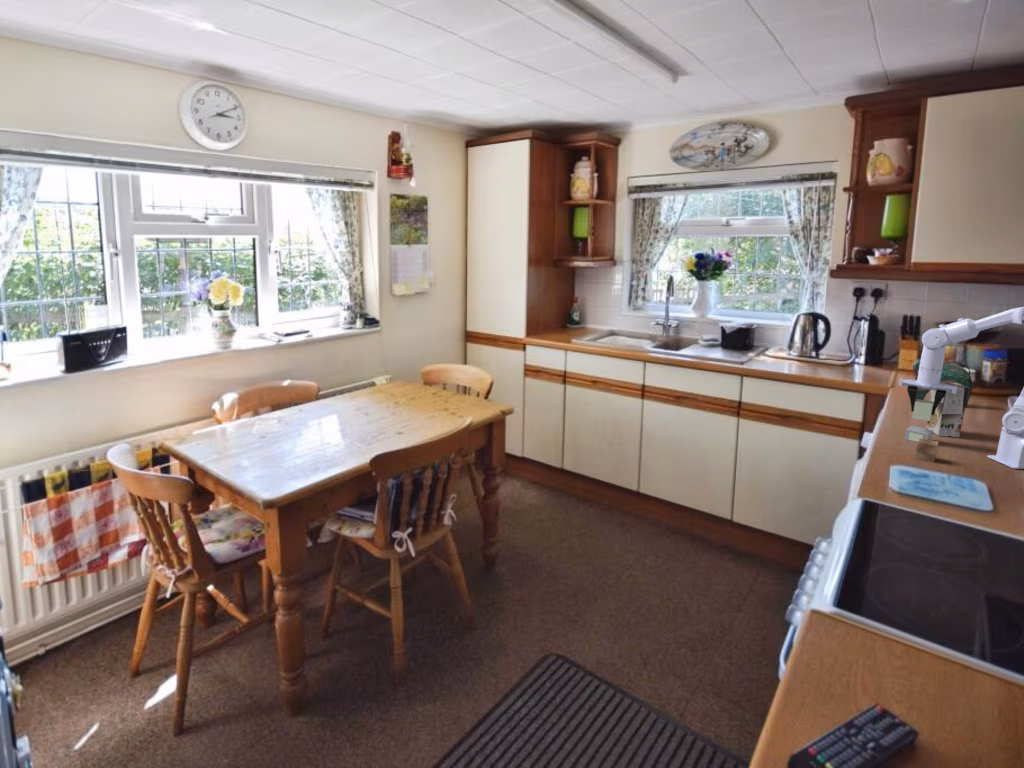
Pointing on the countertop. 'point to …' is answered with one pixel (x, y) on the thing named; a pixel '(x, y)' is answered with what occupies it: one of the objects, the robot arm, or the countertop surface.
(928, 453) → the walnut block
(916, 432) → the base block
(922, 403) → the sage block
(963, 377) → the ceramic cat
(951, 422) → the coffee box
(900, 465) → the countertop surface
